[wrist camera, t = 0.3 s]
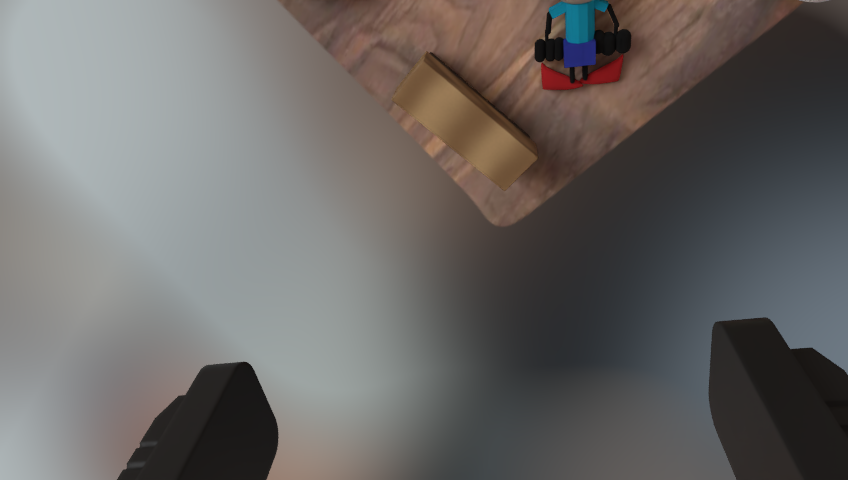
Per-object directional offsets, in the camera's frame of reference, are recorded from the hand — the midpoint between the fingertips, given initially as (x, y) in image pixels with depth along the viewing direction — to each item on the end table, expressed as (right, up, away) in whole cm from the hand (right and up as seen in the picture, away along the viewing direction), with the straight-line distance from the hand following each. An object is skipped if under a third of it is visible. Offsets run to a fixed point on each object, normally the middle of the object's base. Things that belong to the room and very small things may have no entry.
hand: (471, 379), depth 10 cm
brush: (+3, +14, +40) cm, 43 cm away
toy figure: (+11, +22, +35) cm, 43 cm away
